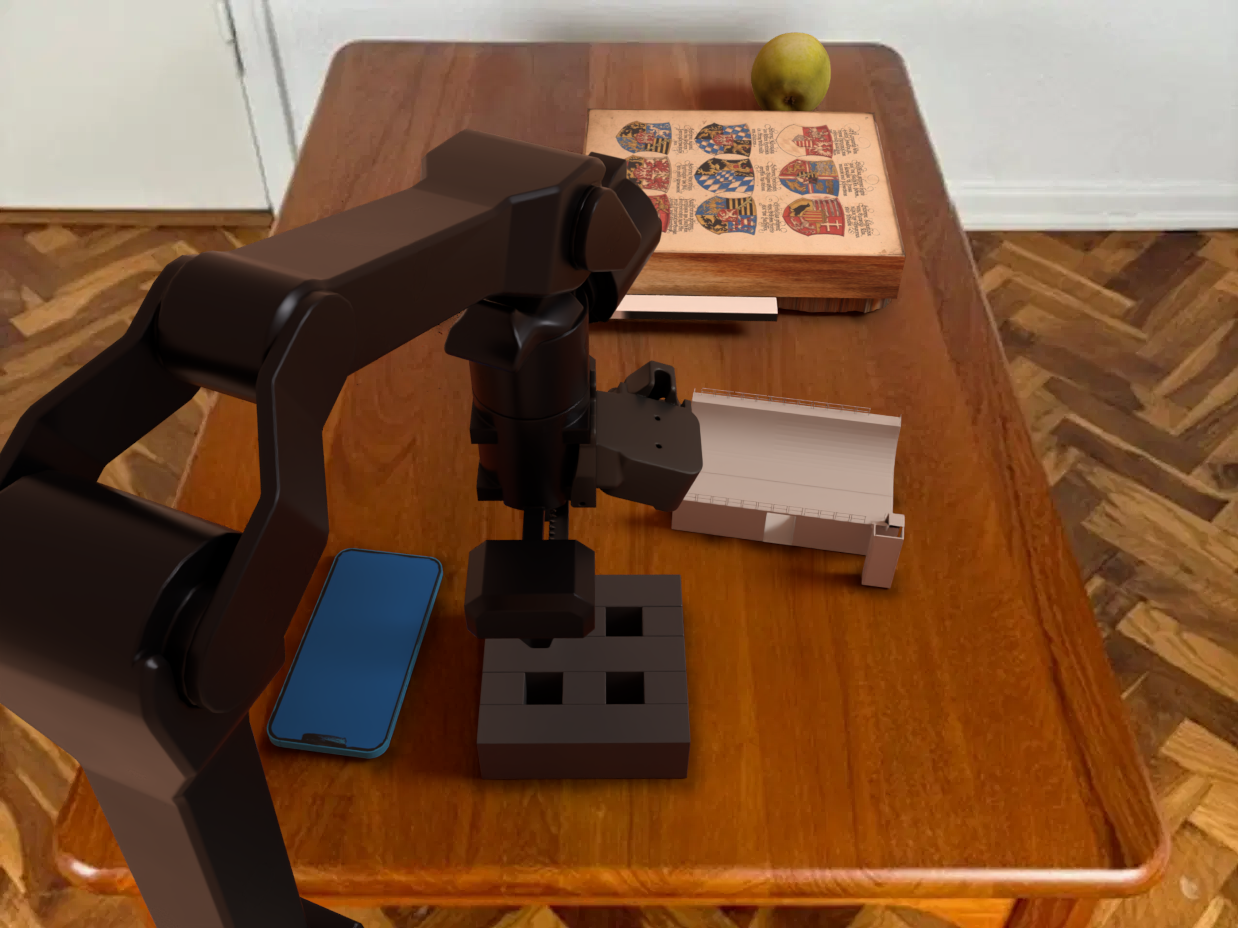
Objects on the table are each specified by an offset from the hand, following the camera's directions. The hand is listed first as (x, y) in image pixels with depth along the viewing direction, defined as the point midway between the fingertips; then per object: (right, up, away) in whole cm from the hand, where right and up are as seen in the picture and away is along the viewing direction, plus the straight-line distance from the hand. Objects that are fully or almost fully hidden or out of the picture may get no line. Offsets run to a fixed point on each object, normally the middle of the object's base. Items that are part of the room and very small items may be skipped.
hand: (542, 579), depth 69 cm
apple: (+21, +42, +52) cm, 70 cm away
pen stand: (+2, -7, +4) cm, 9 cm away
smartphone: (-12, -5, +6) cm, 14 cm away
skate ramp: (+16, +4, +15) cm, 23 cm away
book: (+13, +26, +36) cm, 46 cm away
